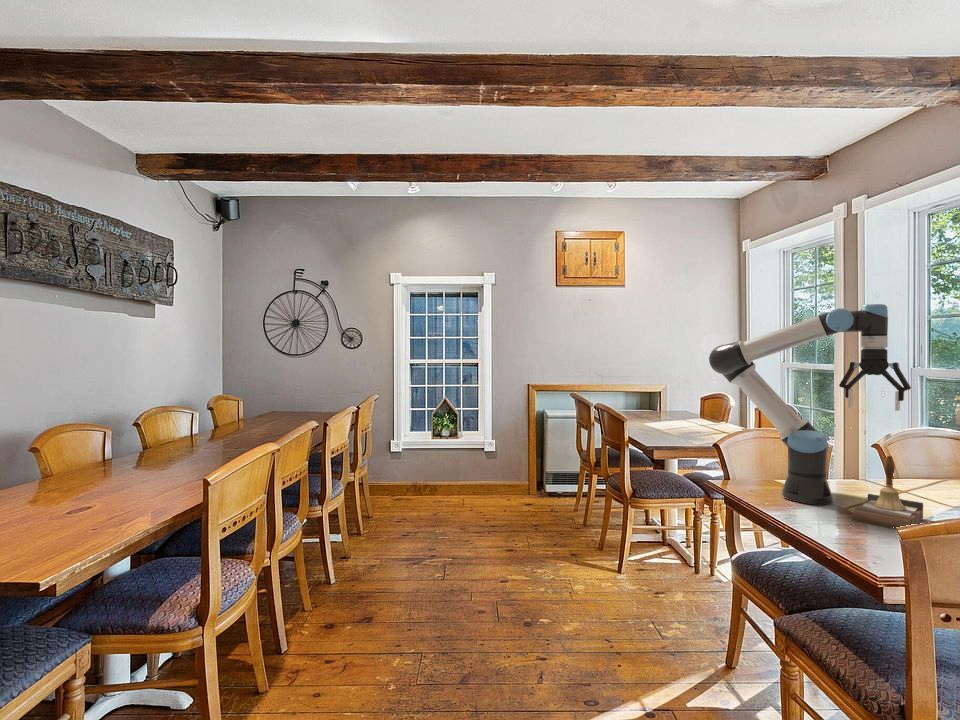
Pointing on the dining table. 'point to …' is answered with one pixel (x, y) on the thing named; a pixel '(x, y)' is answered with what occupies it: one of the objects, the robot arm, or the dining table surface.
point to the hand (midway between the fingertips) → (873, 409)
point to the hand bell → (889, 490)
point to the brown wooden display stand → (888, 513)
